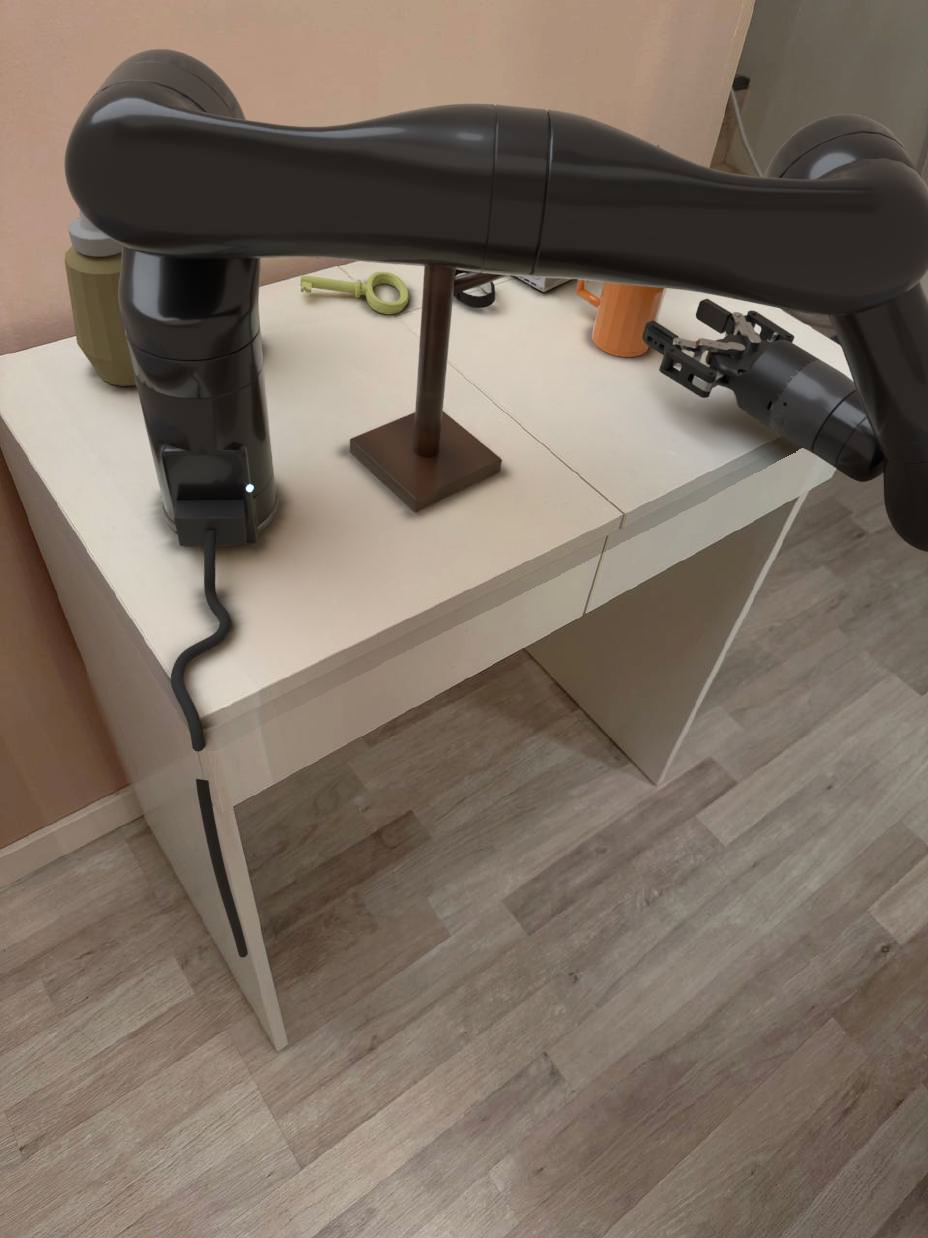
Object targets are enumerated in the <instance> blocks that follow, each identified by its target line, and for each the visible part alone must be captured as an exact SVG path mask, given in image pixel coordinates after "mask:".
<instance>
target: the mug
mask: <svg viewBox="0 0 928 1238" xmlns="http://www.w3.org/2000/svg"><path fill="white" fill-rule="evenodd" d="M587 281H588V280H580V279H577V281H576V287H575V290H574V291H575V294H576V296H578V297H579V298H581V299H582V300H584V301H585V302H587V303H588V304H589V305H592V306H593V307H594V308H596V313H595V318H594V323H593V327H592V333H591V340H592V342H593V344H594V345H595V346H596V347H597V348H598V349H599V350H601V351H603V352H605V353H607V354H608V355H612V356H614V357H615V356H616V357H622V358H635V357H639V356H642V355H644V354H646V352H647V351H648V350H649V347H650V346H649V345H647V344H646V343H645V342H644V341H643V339H642V336H643V332H644V329H645V325H646V323H648V322H650V321H652V320H654V321H656V322H657V323H658V319H659V316H660V312H661V308H662V306H663V302H664V298H665V295H666V291H667V288H659V287H648V286H637V285H627V284H617V283H608V282H603V284H602V289H601V291H600V292H601V293H600V297H598V296H597V295H595V294H594V293H592V292H590V291H589V290H588V289H586V285H587Z"/></svg>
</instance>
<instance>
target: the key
mask: <svg viewBox="0 0 928 1238" xmlns="http://www.w3.org/2000/svg"><path fill="white" fill-rule="evenodd" d="M381 284H387V285H390V286H391V287H394V288H395V289H396V290H397V291H398V293H399V298H398V300H396V301H394V302H393V301H392V302H388V301H385V300H382V299H380V298H379V297H377V295H376V294H375V292H374V289H373V288H374V287H375V286H376V285H381ZM299 286H300V293H304V291H305V293H308V294H312V289H318V290H325V291H330V292H331V291H333V292H338V293H339V292H340V293H346V294H354V296H355V298H357V299H358V298H360V297H361V296H365V299H366V303H367V304H368V305H369V306H370V307H371V309H373V310H374V311H375V312H377V313H380V314H384V315H394V314H395V315H396V314H398V313H400V312H402V310H404V309H405V308H406V306H407V304H408V302H409V298H410V295H409V290H408V288H407V285H406V284H405V282H404V281H403V279H401V277H399V276H398V275H396V274H394V273H392V272H388V271H376V272H373V273H372V274H371V275H369V277H368V278H367V281H366V283H362V281H361V279H359V278H358V279H356V281H348V280H340V279H334V278H333V279H332V278H328V277H327V278H326V277H320V276H312V275H307V274H306V275H305V274H301V275H300V285H299Z"/></svg>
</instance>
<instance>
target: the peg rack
mask: <svg viewBox="0 0 928 1238" xmlns="http://www.w3.org/2000/svg"><path fill="white" fill-rule="evenodd" d="M423 267H424V268H423V282H422V285H423V286H422V297H421V298H422V300H421V314H420V315H421V316H420V331H419V347H418V362H417V377H416V378H417V379H416V393H415V394H416V395H415V410H414V412H412V413H409V414H407V415H404V416H402V417H399V418H396V419H394V420H392V421H390V422H387V423H385V424H383V425H380V426H377V427H375V428H373V429H370V430H368V431H365V432H363V433H361V434H358V435H356V436H353V437H351V438H350V439H349V452H350V454H352V455H353V456H354V458H356V459H357V460H358V461H359V462H361V464H363V465H364V466H365V468H367V470H369V471H370V472H371V473H372V474H374V476H376V477H377V479H379V480H380V481H381V482H382V483H383V484H384V485H385V486H386V487H387V488H388V489H390V490H391V492H393V493H394V494H395V495H396V496H397V497H398V498H399V499H400V500H401V501H402V502H403V503H405V504H406V506H408V507H409V508H410V509H411V510H412V511H413V512H414V513H417V512H420V511H421V510H423V509H425V508H427V507H430V506H432V505H434V504H436V503H438V502H440V501H442V500H444V499H446V498H448V497H451V496H452V495H455V494H456V493H459V492H461V491H463V490H465V489H467V488H470V487H471V486H473V485H475V484H478V483H480V482H481V481H483V480H486V479H488V478H490V477H492V476H494V475H496V474H498V473H500V472H501V467H502V463H503V459H502V458H501V457H500V456H499V455H497V454H496V453H495V452H494V451H493V450H491V449H490V448H489V447H488V446H486V445H485V444H484V443H483V442H481V440H479V439H478V438H477V437H476V436H474V435H473V434H472V433H471V432H469V431H468V430H467V429H466V428H465V427H463V426H462V425H461V424H460V423H459V422H457V421H456V420H455V419H454V418H453V417H451V416H450V415H449V414H448V413H446V412H445V411H444V402H445V392H446V391H445V390H446V379H447V368H448V357H449V347H450V335H451V326H452V325H451V324H452V314H453V302H454V294H457V293H460V292H465V291H468V290H471V289H474V288H477V287H481V285H483V284H486V283H489V282H492V281H493V282H495V281H497V280H501V279H503V278H506V277H509V276H511V275H501V274H489V273H482V272H480V273H478V272H469V273H462V274H459V275H456V276H455V272H456V269H449V268H440V267H427V266H423Z"/></svg>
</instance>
